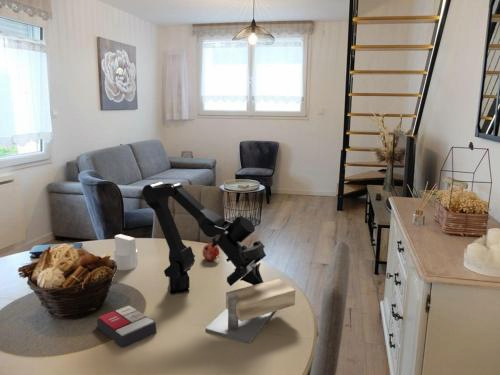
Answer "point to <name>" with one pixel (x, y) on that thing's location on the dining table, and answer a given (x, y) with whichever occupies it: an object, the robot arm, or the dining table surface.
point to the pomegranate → (210, 252)
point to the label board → (244, 330)
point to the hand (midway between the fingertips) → (263, 288)
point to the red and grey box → (126, 326)
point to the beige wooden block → (258, 301)
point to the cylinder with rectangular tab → (125, 252)
